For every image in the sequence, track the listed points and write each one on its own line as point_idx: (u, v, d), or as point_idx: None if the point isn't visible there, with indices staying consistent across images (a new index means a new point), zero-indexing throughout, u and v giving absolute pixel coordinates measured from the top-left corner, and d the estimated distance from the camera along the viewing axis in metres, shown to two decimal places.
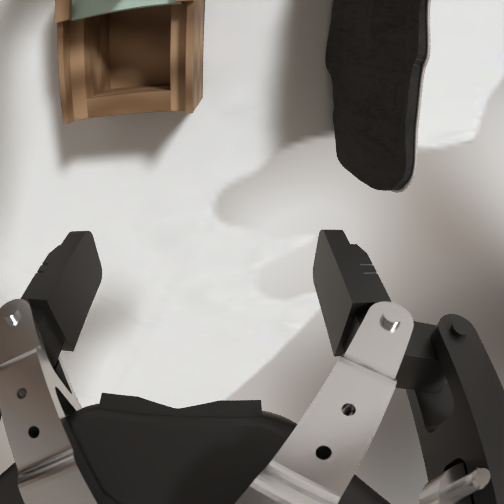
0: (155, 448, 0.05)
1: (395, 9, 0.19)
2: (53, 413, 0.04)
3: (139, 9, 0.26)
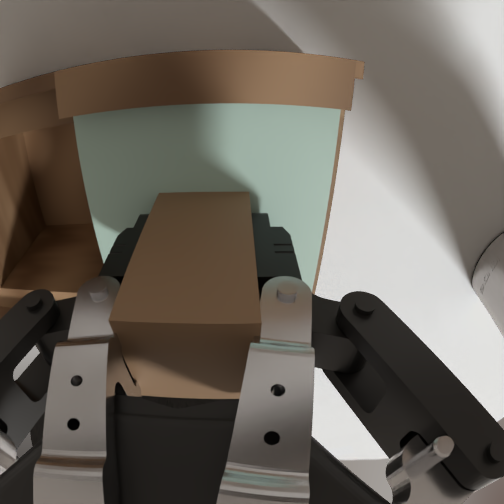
0: (155, 448, 0.05)
1: None
2: (101, 414, 0.04)
3: None
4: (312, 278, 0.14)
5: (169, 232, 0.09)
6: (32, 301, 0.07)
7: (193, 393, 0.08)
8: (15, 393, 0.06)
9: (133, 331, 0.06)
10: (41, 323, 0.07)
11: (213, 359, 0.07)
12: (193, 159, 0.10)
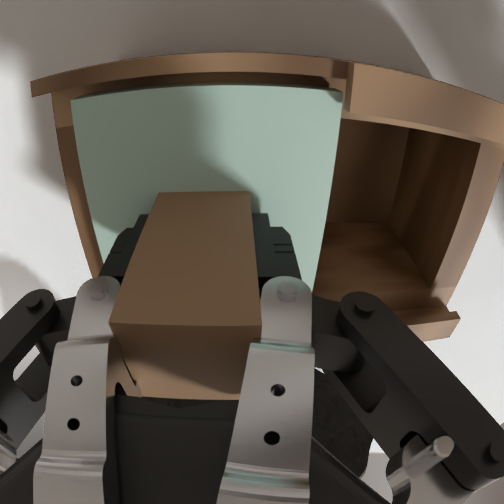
0: (155, 448, 0.05)
1: None
2: (101, 414, 0.04)
3: None
4: (312, 278, 0.14)
5: (170, 233, 0.09)
6: (32, 301, 0.07)
7: (193, 394, 0.08)
8: (15, 393, 0.06)
9: (133, 333, 0.06)
10: (41, 323, 0.07)
11: (214, 361, 0.07)
12: (193, 159, 0.10)
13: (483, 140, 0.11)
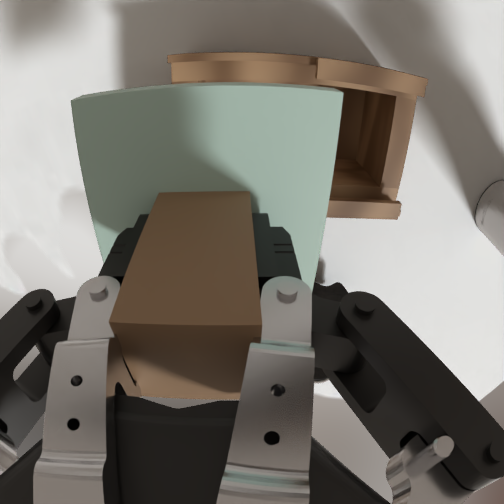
0: (155, 448, 0.05)
1: None
2: (101, 414, 0.04)
3: None
4: (312, 278, 0.14)
5: (170, 233, 0.09)
6: (32, 301, 0.07)
7: (194, 394, 0.08)
8: (15, 393, 0.06)
9: (133, 332, 0.06)
10: (41, 323, 0.07)
11: (214, 360, 0.07)
12: (193, 159, 0.10)
13: (398, 94, 0.22)
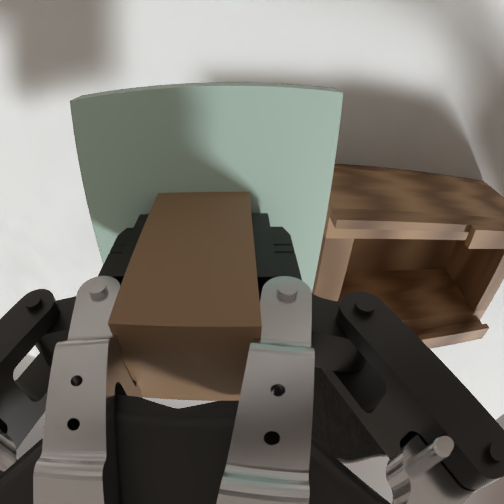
0: (155, 448, 0.05)
1: None
2: (101, 414, 0.04)
3: None
4: (312, 278, 0.14)
5: (169, 233, 0.09)
6: (32, 301, 0.07)
7: (193, 395, 0.08)
8: (15, 393, 0.06)
9: (132, 334, 0.06)
10: (41, 323, 0.07)
11: (213, 361, 0.07)
12: (193, 159, 0.10)
13: None
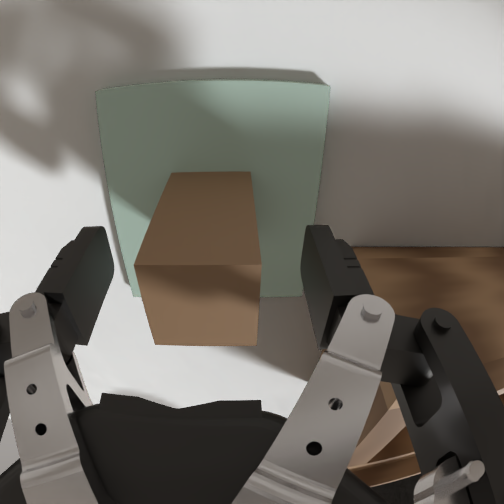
0: (155, 448, 0.05)
1: None
2: (62, 412, 0.04)
3: None
4: None
5: (183, 202, 0.10)
6: None
7: (202, 339, 0.10)
8: None
9: (154, 274, 0.08)
10: None
11: (221, 301, 0.09)
12: (202, 143, 0.12)
13: None
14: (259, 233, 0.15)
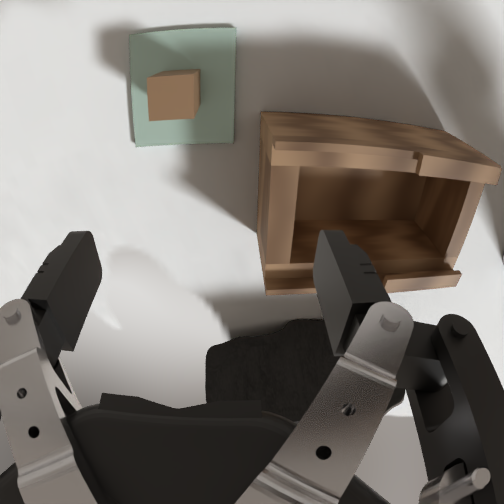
0: (155, 448, 0.05)
1: None
2: (53, 413, 0.04)
3: (373, 177, 0.30)
4: (233, 112, 0.26)
5: (167, 72, 0.21)
6: None
7: (170, 115, 0.20)
8: None
9: (153, 81, 0.19)
10: None
11: (178, 92, 0.19)
12: (177, 56, 0.23)
13: None
14: (206, 101, 0.25)
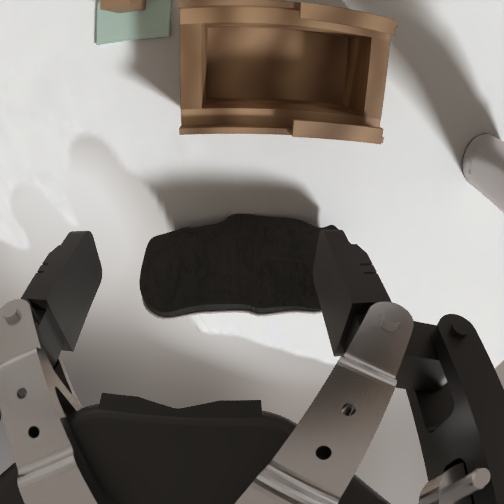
0: (155, 448, 0.05)
1: (290, 283, 0.37)
2: (53, 413, 0.04)
3: (291, 59, 0.32)
4: (168, 13, 0.28)
5: None
6: None
7: (114, 4, 0.22)
8: None
9: None
10: None
11: None
12: None
13: (372, 36, 0.24)
14: (149, 7, 0.27)
